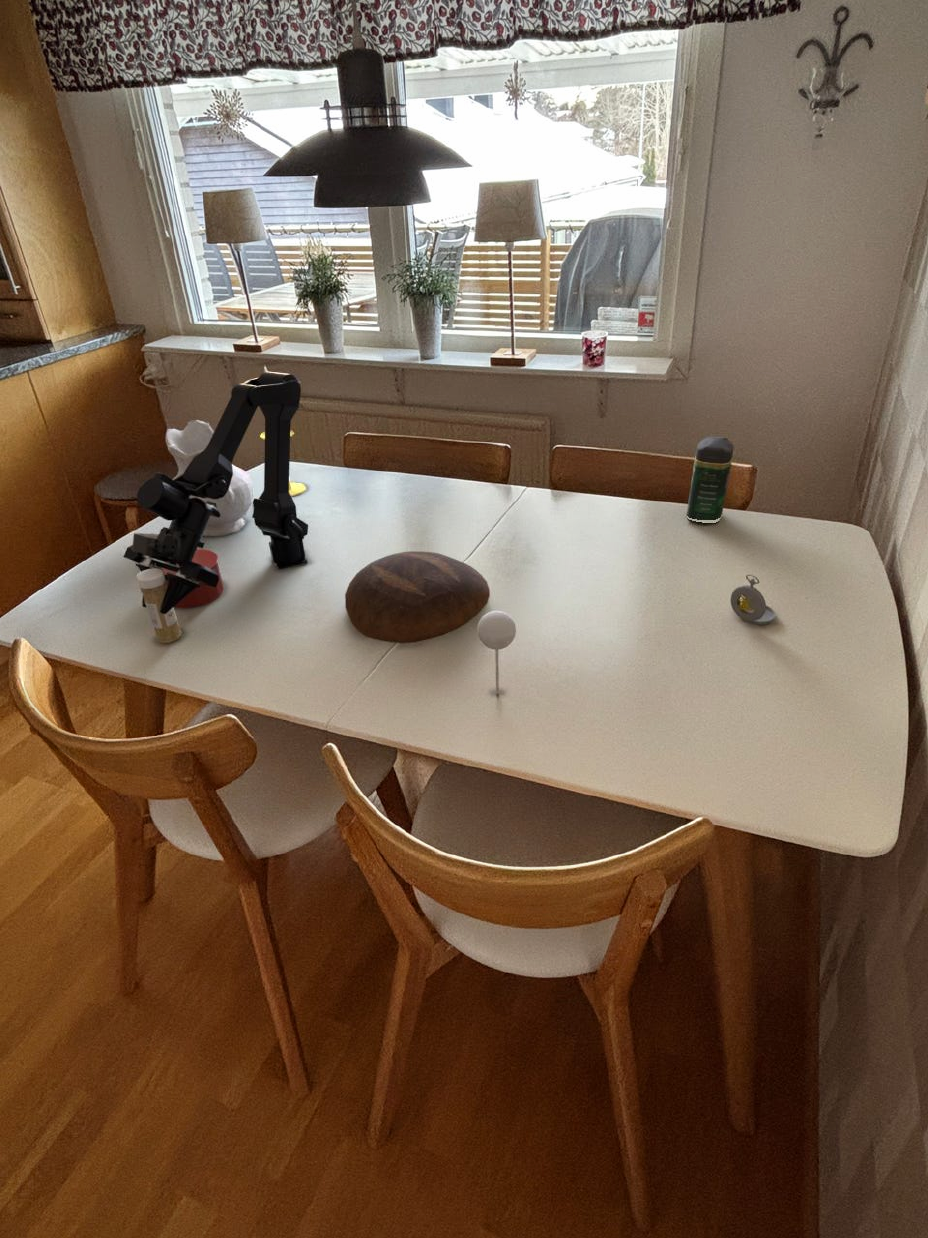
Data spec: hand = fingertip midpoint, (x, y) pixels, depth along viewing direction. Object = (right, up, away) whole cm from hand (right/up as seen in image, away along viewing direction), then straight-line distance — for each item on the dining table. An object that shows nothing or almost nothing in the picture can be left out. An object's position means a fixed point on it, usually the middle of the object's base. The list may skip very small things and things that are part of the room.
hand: (153, 610), depth 129 cm
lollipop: (+61, -14, -13) cm, 64 cm away
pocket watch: (+108, -2, +3) cm, 108 cm away
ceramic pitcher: (-3, +20, +45) cm, 49 cm away
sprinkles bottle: (+1, -5, +5) cm, 7 cm away
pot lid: (0, +9, +15) cm, 17 cm away
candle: (+8, +33, +64) cm, 72 cm away
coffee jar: (+112, +22, +40) cm, 120 cm away
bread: (+47, +1, +11) cm, 48 cm away
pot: (0, +4, +18) cm, 19 cm away
